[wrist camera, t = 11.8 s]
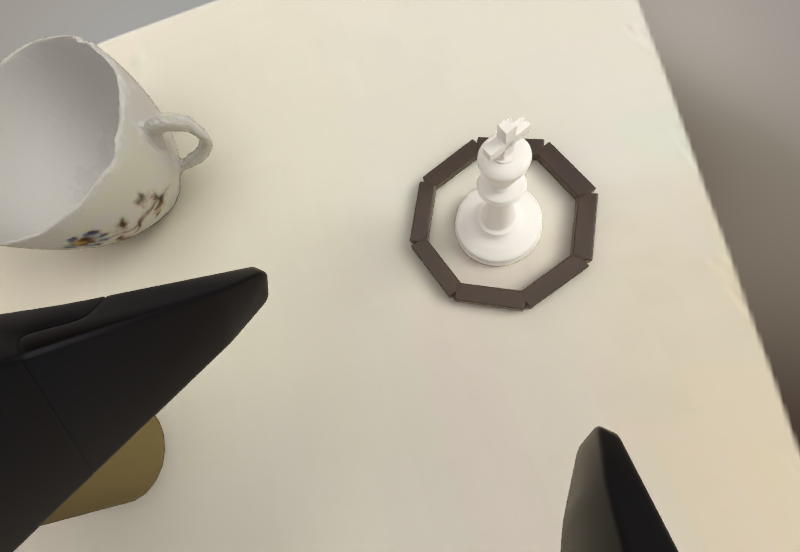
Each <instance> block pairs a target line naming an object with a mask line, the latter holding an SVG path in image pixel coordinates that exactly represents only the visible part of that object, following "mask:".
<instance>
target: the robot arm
mask: <svg viewBox="0 0 800 552" xmlns="http://www.w3.org/2000/svg"><path fill="white" fill-rule="evenodd" d="M267 298H268V281H267V274H266V273H265V272H264V271H262V270H260V269H258V268H255V267H249V268H244V269H239V270H234V271H229V272H224V273H219V274H214V275H209V276H204V277H199V278H194V279H189V280H184V281H179V282H174V283H169V284H164V285H160V286H155V287H150V288H145V289H140V290H135V291H130V292H125V293H120V294H115V295H110V296H107V297H100V298H95V299H90V300H85V301H79V302H74V303H69V304H63V305H58V306H51V307H45V308H39V309H33V310H26V311H19V312H13V313H6V314H0V552H13V551H14V550H15V549H16V548H17V547H18V546H20V545H21V544H22V543H23V542H24V541H25V540H26V539H27V538H28V537H29V536H30V535H31V534H32V533H33V532H34V531H35V530H36V529H37V528H38V527H39V526H40V525H41V524H42V523H44V522H45V521H46V520H47V519H48V518H49V517H50V516H51V515H52V514H53V513H54V512H55V511H56V510H57V509H58V508H59V507H60V506H61V505H62V504H63V503H64V502H65V501H66V500H67V499H69V498H70V497H71V496H72V495H73V494H74V493H75V492H76V491H77V490H78V489H79V488H80V487H81V486H82V485H83V484H84V483H85V482H86V481H87V480H88V479H89V478H90V477H92V476H93V474H94V472H96V471H97V470H99V469H100V468H101V467H102V466H103V465H104V464H105V463H106V462H107V461H108V460H109V459H110V458H111V457H112V456H113V455H114V454H115V453H116V452H117V451H118V450H119V449H120V448H121V447H123V446H124V445H125V444H126V443H127V442H128V441H129V440H130V439H131V438H132V437H133V436H134V435H135V434H136V433H137V432H138V431H139V430H140V429H141V428H142V427H143V426H144V425H145V424H147V423H148V422H149V421H150V420H151V419H152V418H153V417H154V416H155V415H156V414H157V413H158V412H159V411H160V410H161V409H162V408H163V407H164V406H165V405H166V404H167V403H168V402H169V401H171V400H172V399H173V398H174V397H175V396H176V395H177V394H178V393H179V392H180V391H181V390H182V389H183V388H184V387H185V386H186V385H187V384H188V383H189V382H190V381H191V380H192V379H193V378H195V377H196V376H197V375H198V374H199V373H200V372H201V371H202V370H203V369H204V368H205V367H206V366H207V365H208V364H209V363H210V362H211V361H212V360H213V359H214V358H215V357H216V356H217V355H219V354H220V353H221V352H222V351H223V350H224V349H225V348H226V347H227V346H228V345H229V344H230V343H231V342H232V341H233V339H234V338H235V337H236V336H237V335H238V334H239V333H240V332H241V330H242V329H243V328H244V327H245V326H246V325H247V323H248V322H249V321H250V320H251V319H252V317H253V316H254V315H255V314H256V313H257V312H258V310H259V309H260V308H261V307H262V306H263V305H264V303H265V302H266V300H267ZM561 552H678V550H677V548H676V546H675V544H674V542H673V540H672V538H671V536H670V534H669V532H668V531H667V529H666V527H665V525H664V523H663V521H662V519H661V517H660V515H659V513H658V511H657V509H656V507H655V505H654V503H653V501H652V499H651V497H650V495H649V494H648V492H647V490H646V488H645V486H644V484H643V482H642V480H641V478H640V476H639V474H638V472H637V470H636V468H635V466H634V464H633V462H632V460H631V458H630V457H629V455H628V453H627V451H626V449H625V447H624V445H623V443H622V441H621V439H620V437H619V436H618V435H617V434H616V433H614V432H611V431H609V430H607V429H605V428H603V427H600V426H598V427H596V428H594V429H593V431H592V432H591V433H590V434H589V436H588V437H587V438H586V439H585V440H584V442H583V443H582V444H581V445H580V447H579V449H578V452H577V455H576V460H575V465H574V470H573V475H572V479H571V484H570V489H569V494H568V499H567V504H566V509H565V514H564V520H563V528H562V539H561Z"/></svg>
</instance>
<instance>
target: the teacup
mask: <svg viewBox="0 0 800 552" xmlns="http://www.w3.org/2000/svg"><path fill="white" fill-rule="evenodd" d="M171 131H185V132H190V133H191V134H193V135H195V136H196V137H197V138H199V139H200V141H199V145H198V147H197V148H196V149H195V150H194V151H193V152H192V153H190V154H188V155H187V157H186V158H184V159H181V158H180V157H179V156H178V151H177V147H176V143H175V140H174V138H173V135H172V133H171ZM212 147H213V143H212V140H211V138H210V136H209V135H208V133H207V132H206V131H205V130H204V129H203V128H202V127H201V126H200V125H199V124H197V123H196V122H195V121H194V120H193V119H191V118H190V117H188V116H184V115H180V114H175V113H161V112H160V111H159V109H158V107H157V106H156V105H155V103H154V102H153V101H152V99H151V98H150V97H149V95H148V94H147V93H146V92H145V91H144V89H143V88H142V87H141V86H140V85H139V84H138V82H137V81H136V80H135V79H134V78H133V77H132V76H131V75H130V74H129V73H128V72H127V71H126V70H125V69H124V68H123V67H122V66H121V65H120V64H119V63H118V62H117V61H115V60H114V59H113V58H112V57H111V56H110V55H108V54H107V53H106V52H104V51H103V50H102V49H101V48H99V47H98V46H97V45H96V44H94V43H90V42H85V41H84V40H83V39H82V38H80V37H77V36H55V37H46V38H42V39H39V40H35V41H32V42H31V43H28V44H26V45H24V46H22V47H20V48H19V49H17V50H15V51H14V52H13V53H12V54H11V55H9V56H8V57H6V59H4V60H2V61H0V245H1V246H8V247H18V248H29V249H45V250H72V249H85V248H94V247H100V246H104V245H108V244H112V243H115V242H119V241H122V240H125V239H127V238H130V237H132V236H135V235H136V234H138V233H140V232H142V231H144V230H145V229H147V228H148V227H150V226H151V225H153V224H155V223H156V222H157V221H158V220H160V219H161V218H162V217H163V216H164V215H165V214H166V213H167V212H168V211H169V210H170V209H171V208H172V207H173V206H174V204H175V201H176V199H177V197H178V194H179V191H180V175H181V173H182V172H183V171H184V170H185V169H188V168H191V167H193V166H195V165H197V164H199V163H201V162H202V161H204V160H205V159H206V158H207V157H208V156H209V154H210V152H211V149H212Z"/></svg>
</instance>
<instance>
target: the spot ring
mask: <svg viewBox="0 0 800 552" xmlns="http://www.w3.org/2000/svg"><path fill="white" fill-rule="evenodd" d="M487 139H488V138H486V137H478V140H477V143H476V142H475V141H474V140H471V141H470V142H468V143H467V144H466V145H464V146H463V147H462V148H461V149H459V150H458V151H457V152H455V153H454V154H453V155H451V156H450V157H449V158H447V159H446V160H445V161H444V162H442V163H441V164H440V165H438V166H437V167H436V168H434V169H433V170H432V171H431V172H429V173H428V174H427V175H425V176H424V177H423V179H424V182H420V184H419V190H418V196H417V202H416V208H415V213H414V219H413V225H412V231H411V237H410V242H411V243H412V244H413V245H412V246H411V247H412V249H413V250H414V251H415V253H416V254H417V255H418V257H419V258H420V259H421V261H422V262H423V263H424V265H425V266H426V267H427V269H428V270H429V271H430V273H431V274H432V275H433V276H434V278H435V279H436V280H437V282H438V283H439V284H440V286H441V287H442V288H443V290H444V291H445V292H446V294H447V295H448V296H449V297H450V298H451V297H452V296H454V295H455V297H454V300H455V301H458V302H465V303H472V304H479V305H486V306H493V307H500V308H507V309H514V310H521V311H523V310H524V309H525V305H526V306H527V307H528V308H529V309H531V308H532V307H534V306H535V305H536V304H538V303H539V302H541V301H542V300H543V299H545V298H546V297H547V296H549V295H550V294H552V293H553V292H554V291H556V290H557V289H558V288H560V287H561V286H563V285H564V284H565V283H567V282H568V281H570V280H571V279H572V278H574V277H575V276H576V275H578V274H579V273H581V272H582V271H583V270H585V269H586V268H587V267H588V266H589V265H588V264H587V263H589V262H591V261H592V258H593V246H594V235H595V224H596V212H597V201H598V194H595V193H593V192H594V190H595V189H596V188H595V187H594V186H593V185H592V184H591V183H590V182H589V181H588V180H587V179H586V178H585V177H584V176H583V175H582V174H581V173H580V172H579V171H578V170H577V169H576V168H575V167H574V166H573V165H572V164H571V163H570V162H569V161H568V160H567V159H566V158H565V157H564V156H563V155H562V154H561V153H560V152H559V151H558V150H557V149H556V148H555V147H554V146H553V145H552V144H551V143H550V142H549V143H547V144H546V145H545V146H544V140H543V139H525V140H526V141H527V142H528V144H529V145H530V148H531V151H532V159H535V160H538V161H539V162H540V163H541V164H542V165H543V166H544V167H545V168H546V169H547V170H548V171H549V172H550V173H551V174H552V175H553V176H554V177H555V179H556V180H557V181H558V182H559V183H560V184H561V185H562V186H563V187H564V188H565V189H566V190H567V191H568V192H569V193H570V194H571V195H572V196H573V197H574V198H575V199H576V206H575V216H574V226H573V236H572V247H571V256H569V257H568V258H567V259H565V260H564V261H563V262H561V263H560V264H558V265H557V266H556V267H554V268H553V269H552V270H550V271H549V272H548V273H546V274H545V275H543V276H542V277H541V278H539V279H538V280H537V281H535V282H534V283H532V284H531V285H530V286H528V287H527V288H526V289H524V290H523V291H517V290H510V289H502V288H494V287H487V286H479V285H471V284H464V283H460V281H459V280H458V279H457V277H456V276H455V275H454V274H453V272H452V271H451V270H450V268H449V267H448V266H447V265H446V263H445V262H444V261H443V259H442V258H441V257H440V256H439V254H438V253H437V252H436V250H435V249H434V248H433V247H432V245H431V244H430V243H429V241H428V238H429V232H430V225H431V219H432V213H433V207H434V201H435V195H436V190H437V189H438V188H439V187H441V186H442V185H443V184H445V183H446V182H447V181H449V180H450V179H451V178H453V177H454V176H455V175H457V174H458V173H459V172H460V171H462V170H463V169H464V168H466V167H467V166H468V165H470V164H471V163H472V162H474V161H475V160H476V159H477V156H478V152H479V149H480V147H481V145H482V144H483V143H484V142H485V141H486V140H487ZM586 262H587V263H586Z"/></svg>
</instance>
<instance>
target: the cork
mask: <svg viewBox="0 0 800 552" xmlns="http://www.w3.org/2000/svg"><path fill="white" fill-rule="evenodd" d="M164 452H165V446H164V434H163V432H162V429H161V426H160V423H159V421H158V420H157V418H156V417H155V416H154V417H153V418H152V419H151V420H150V421H149V422H148V423H147V424H145V425H144V426H143V427H142V428H141V429H140V430H139V431H138V432H137V433H136V434H135V435H134V436H133V437H132V438H131V439H130V440H129V441H128V442H127V443H126V444H125V445H124V446H123V447H121V448H120V449H119V450H118V451H117V452H116V453H115V454H114V455H113V456H112V457H111V458H110V459H109V460H108V461H107V462H106V463H105V464H104V465H103V466H102V467H101V468H100V469H99V470H97V471H96V472H94V474H93V476H92V477H90V478H89V479H88V480H87V481H86V482H85V483H84V484H83V485H82V486H81V487H80V488H79V489H78V490H77V491H76V492H75V493H74V494H73V495H72V496H71V497H70V498H69V499H67V500H66V501H65V502H64V503H63V504H62V505H61V506H60V507H59V508H58V509H57V510H56V511H55V512H54V513H53V514H52V515H51V516H50V517H49V518H48V519H47V520H46V521H45V522H44V523H42V524H41V525H40V526H42V525H45V524H49V523H53V522H57V521H60V520H64V519H68V518H72V517H75V516H79V515H83V514H87V513H90V512H94V511H98V510H101V509H105V508H109V507H113V506H116V505H120V504H124V503H128V502H131V501H135V500H136V499H138V498H139V497H141V496H142V495H144V494H145V493H146V492H147V491H148V490H149V489H150V487H151V486H152V485H153V484H154V482H155V481H156V479H157V477H158V474H159V472H160V470H161V468H162V464H163V458H164Z"/></svg>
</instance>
